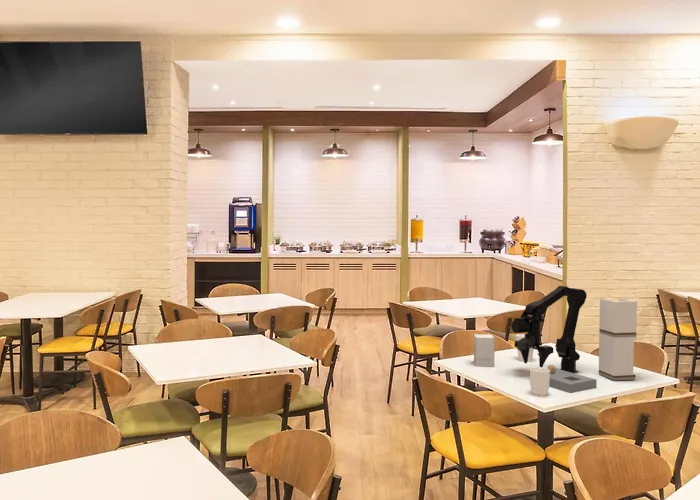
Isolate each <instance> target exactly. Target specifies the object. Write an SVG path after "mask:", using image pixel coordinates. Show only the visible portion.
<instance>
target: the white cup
mask: <svg viewBox="0 0 700 500" xmlns="http://www.w3.org/2000/svg"><path fill="white" fill-rule="evenodd" d="M549 381H550V370H549V369H548V367H540V366H537V367H536V366H534V367H530V368H529V384H530V394H531V395H534V396H538V397H542V396H543V397H545V396H548V395H549V389H550V386H549Z"/></svg>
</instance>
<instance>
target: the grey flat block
mask: <svg viewBox="0 0 700 500" xmlns="http://www.w3.org/2000/svg"><path fill="white" fill-rule="evenodd" d="M560 369H561V368H560ZM560 369H559V368H556V371H555V372H554V373H550V381H549V388H553V389H557V390H559V391H563V392H566V393H570V394H572V393H575V392H580V391H586V390H587V391H588V390H591V389H597V386H598V385H597V383H598V382H597V379H596V378H592V377H589V376H585V375H582V374H577V373H571V372H567V371H564V370H560Z"/></svg>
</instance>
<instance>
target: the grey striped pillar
mask: <svg viewBox="0 0 700 500" xmlns="http://www.w3.org/2000/svg"><path fill="white" fill-rule="evenodd" d="M637 320H638V300H633V299H632V300H631V299H627V298H622V297H621V298H620V297H619V299H618V300H610V299H605V298H599V326H598V327H599V330H598V333H599V334H598V375H600V376H602V377H605V378H607V379H609V380H612V381H631V380H633V381H634V380H636V378H637V377H636V374H634V363H635V361H634V358H635V357H634V356H635V355H634V354H635V353H634V352H635V351H634V350H635V348H634V347H635V341H637V328H638V327H637V325H638V324H637V323H638V322H637Z"/></svg>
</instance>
